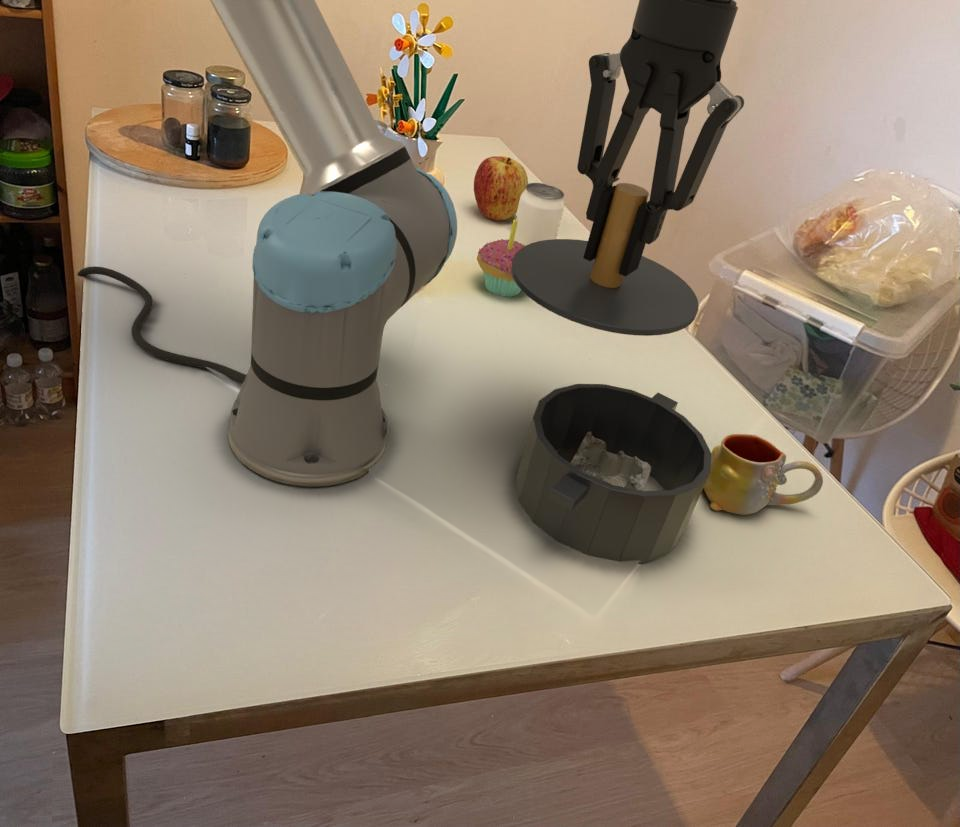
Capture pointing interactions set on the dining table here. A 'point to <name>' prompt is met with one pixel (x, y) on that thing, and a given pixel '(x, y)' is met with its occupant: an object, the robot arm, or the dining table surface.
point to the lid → (606, 279)
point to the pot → (595, 503)
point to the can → (539, 213)
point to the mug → (752, 475)
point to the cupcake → (500, 264)
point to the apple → (499, 187)
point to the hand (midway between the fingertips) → (610, 263)
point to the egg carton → (611, 464)
